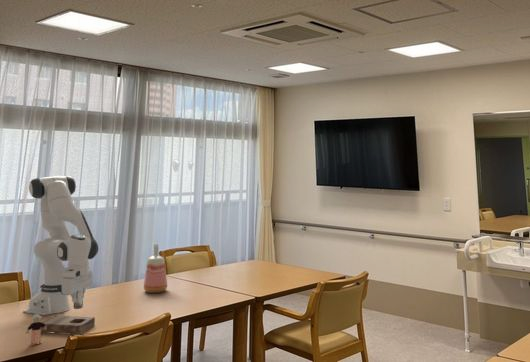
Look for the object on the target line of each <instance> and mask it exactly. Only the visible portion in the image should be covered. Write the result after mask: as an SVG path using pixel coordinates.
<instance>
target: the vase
mask: <svg viewBox="0 0 530 362" xmlns="http://www.w3.org/2000/svg"><path fill="white" fill-rule="evenodd" d="M145 267H146V268H145V269H146V270H145V274H144V281H143V290H144V291H145V292H147V293H148V294H150V293H151V294H159V293H163V292H164V291H166V290H167V288H168V279H167V278H168V277H167V271H166V261H165V258H164V257H163V256H162V255H160V254H159V244H157V243H154V244H153V255H151V256H149V257H148V258H147V261H146V266H145Z"/></svg>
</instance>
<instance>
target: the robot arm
mask: <svg viewBox="0 0 530 362" xmlns="http://www.w3.org/2000/svg"><path fill="white" fill-rule="evenodd" d="M76 188H77V183H76V180H75V179H74V177H73V176H70V175H63V176H62V175H54V176H53V175H52V176H47V177H46V176H45V177H40V178H39V177H38V178H37V177H36V178H32V179H31V180H30V181H29V184H28V191H29V193H30V195H31V197H32V198H34V199H39V200H40V203H39V204H40V206H39V207H40V216H41V225H42V228H43V229H44V230H46V231H47V232H48V234H49V235H50V237H48V238H44V239H42V240H39V241H37V242H36V243H35V245H34V247H33V254H34V256H35V257H36V258H37V259H39V261H40V262H41V264H42V267H43V272H44V274H43V277H44V279H43V280H44V281H43V282H44V283H42V285H39V289H40V291H39V292H38V293H37V294H34V296H32V297H31V298H30V299H29V301H28V306H27V307H25V308H24V309H23V310H22V311H23V313H28V314H34V315H35V314H39V315H40V316H41V315H42V316H47V315H52V314H60V313H63V312H66V311H68V310H71V306H70V303H69V296H70V297H71V301H72V303H74V302H76V301H77V299H78V297H76V294H77V292H78V291H80V290H81V286H83V299H84V298H85V292H86V288H88V287H91V286H92V285H93V284H94V283H93V282H94V278H93V271H92V269H91V267H90V266H89V264H90V263H89V260H93V259H94V258H95V257H96V256H97V255H98V254H99V244H98V241H96V240H95V237H94V236H93V234H92V231H91V230H90V226H89V224H88V221H87V219H86V217H85V215H84V213H83V212H82V210H81V209H79V208H78V207H77V206H76V205H75V203H74V201H73V198H72V195H73V194H74V193H75V192H76ZM66 222H67V223H70V224H72V225H74V226H75V227H76V228H77V232H78V233H79V234H73V235H72V234H71V233H70V231H69V228H68V226H67V223H66ZM63 262H68V263H67V266H66V265H64V264H63Z"/></svg>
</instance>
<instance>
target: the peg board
mask: <svg viewBox="0 0 530 362" xmlns="http://www.w3.org/2000/svg"><path fill="white" fill-rule="evenodd" d="M95 320H96V319H95V317H91V316H78V315H76V316H75V315H73V316H72V315H57V314H55V315H53V316H51V317H49V318H48V319H46V320H44V321H41V322H42V323H44V324H45V326H46V328H47V329H46V330H44V328H43V327H40V329H41V333H43V332H54V333H53V334H59V333H70V334H69V335H76V334H81V335H83V334H84V333H86V332H88V331H89V330H90V329H92V328H93V327H95Z"/></svg>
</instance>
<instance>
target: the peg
mask: <svg viewBox="0 0 530 362" xmlns="http://www.w3.org/2000/svg"><path fill="white" fill-rule="evenodd" d="M76 297H78V299H77V301H76V302H73V309H74V310H79V309H83V308H84V298H83V286H81V290H80V291H78V292H77V294H76Z"/></svg>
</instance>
